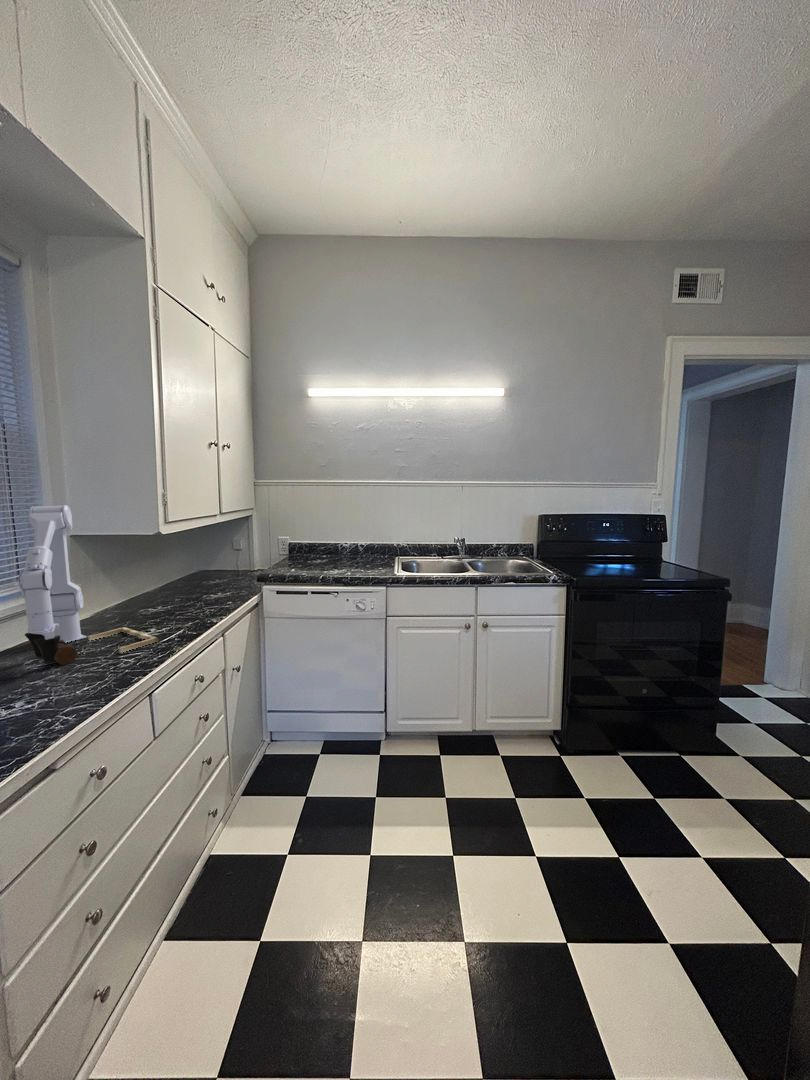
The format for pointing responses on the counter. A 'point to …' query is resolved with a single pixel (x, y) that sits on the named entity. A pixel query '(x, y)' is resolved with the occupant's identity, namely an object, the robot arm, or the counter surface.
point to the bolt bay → (148, 638)
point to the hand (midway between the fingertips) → (45, 658)
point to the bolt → (65, 653)
